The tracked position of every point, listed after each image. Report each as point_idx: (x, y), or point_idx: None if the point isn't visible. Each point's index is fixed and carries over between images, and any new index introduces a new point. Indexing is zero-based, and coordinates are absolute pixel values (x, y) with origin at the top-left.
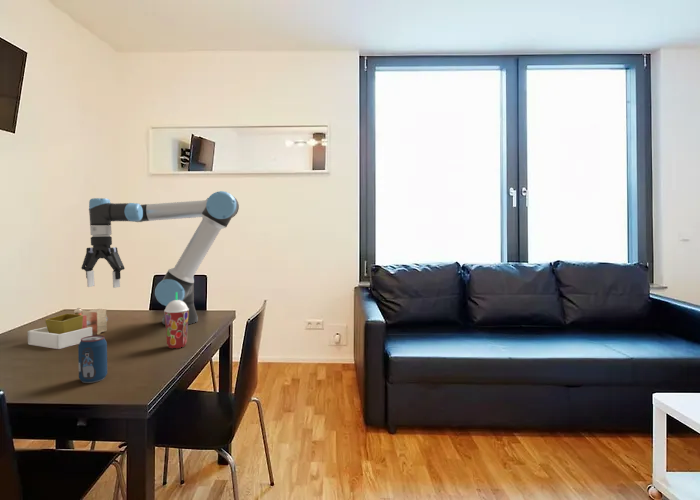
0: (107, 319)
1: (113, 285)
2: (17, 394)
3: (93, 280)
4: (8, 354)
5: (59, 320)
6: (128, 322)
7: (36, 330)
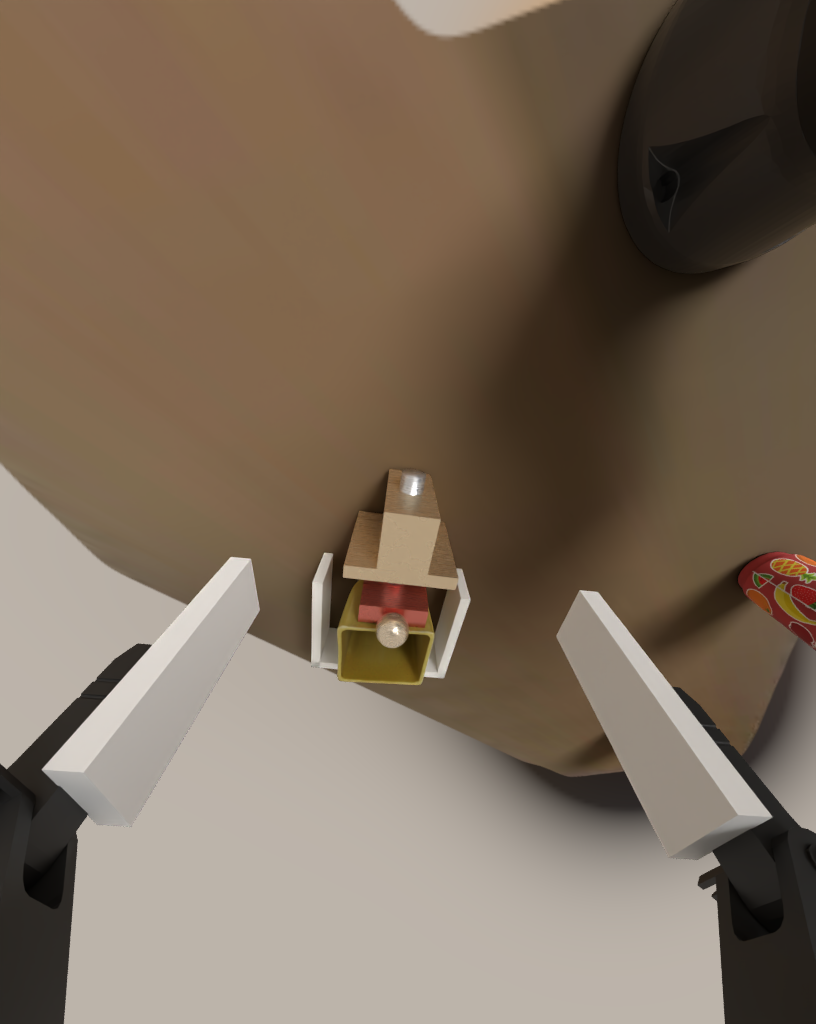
0: (425, 475)
1: (570, 654)
2: (555, 767)
3: (216, 614)
4: (364, 683)
5: (345, 634)
6: (387, 242)
7: (320, 651)
